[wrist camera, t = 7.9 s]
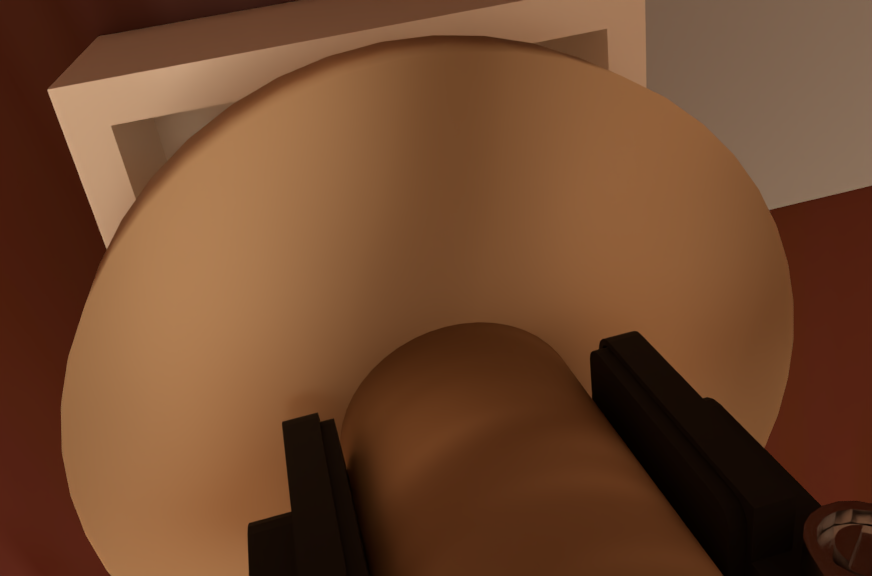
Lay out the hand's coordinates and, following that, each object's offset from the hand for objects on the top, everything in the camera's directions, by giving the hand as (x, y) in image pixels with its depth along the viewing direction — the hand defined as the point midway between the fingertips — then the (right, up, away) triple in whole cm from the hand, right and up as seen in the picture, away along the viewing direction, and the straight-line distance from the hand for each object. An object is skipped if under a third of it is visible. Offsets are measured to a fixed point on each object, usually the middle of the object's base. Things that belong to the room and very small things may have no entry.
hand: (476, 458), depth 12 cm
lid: (-1, +1, +2) cm, 2 cm away
